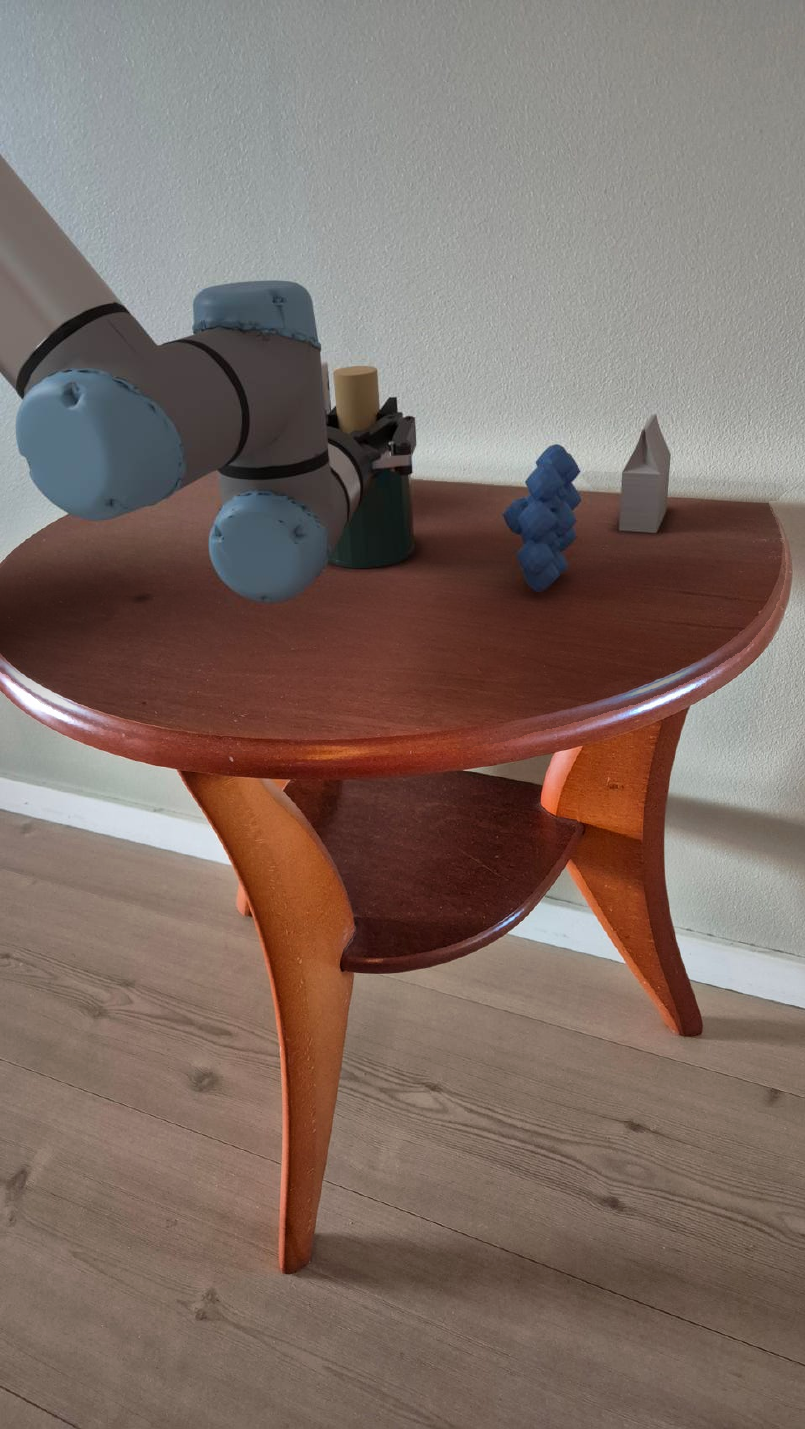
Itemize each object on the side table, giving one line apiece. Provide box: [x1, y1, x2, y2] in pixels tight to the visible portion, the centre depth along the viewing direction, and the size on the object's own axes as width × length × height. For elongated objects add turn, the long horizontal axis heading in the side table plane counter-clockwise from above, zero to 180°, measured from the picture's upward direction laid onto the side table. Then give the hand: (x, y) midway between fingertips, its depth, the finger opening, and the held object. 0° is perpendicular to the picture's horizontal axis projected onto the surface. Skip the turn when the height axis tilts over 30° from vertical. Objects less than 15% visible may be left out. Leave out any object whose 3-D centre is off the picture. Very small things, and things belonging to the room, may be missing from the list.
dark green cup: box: [328, 468, 415, 569], centre depth 96 cm, size 9×9×10 cm
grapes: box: [502, 443, 582, 593], centre depth 86 cm, size 12×7×12 cm, turn 157°
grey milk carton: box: [618, 413, 672, 534], centre depth 99 cm, size 4×7×10 cm, turn 159°
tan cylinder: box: [332, 365, 381, 434], centre depth 92 cm, size 4×4×12 cm
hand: (370, 412), depth 97 cm, fingers closed on tan cylinder, 4 cm apart
